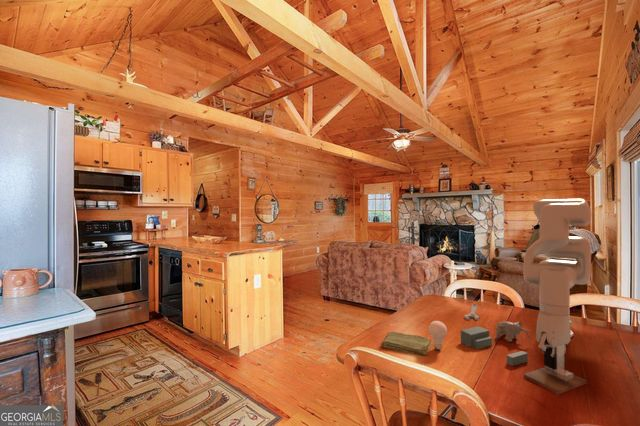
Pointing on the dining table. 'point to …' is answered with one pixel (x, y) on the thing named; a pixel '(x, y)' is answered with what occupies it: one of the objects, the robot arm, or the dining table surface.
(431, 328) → the light bulb
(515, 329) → the grey monster figurine
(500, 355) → the dining table surface
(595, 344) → the dining table surface
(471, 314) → the adjustable wrench
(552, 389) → the walnut board
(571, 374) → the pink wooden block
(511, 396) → the dining table surface
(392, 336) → the washcloth
